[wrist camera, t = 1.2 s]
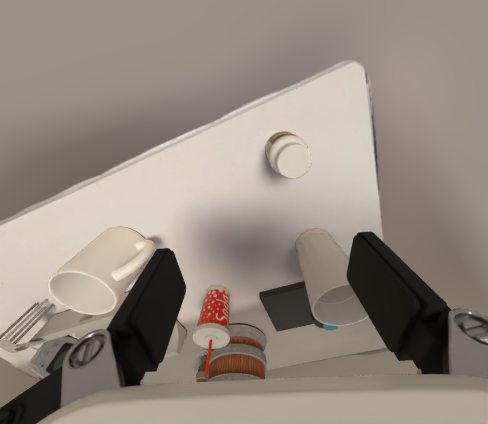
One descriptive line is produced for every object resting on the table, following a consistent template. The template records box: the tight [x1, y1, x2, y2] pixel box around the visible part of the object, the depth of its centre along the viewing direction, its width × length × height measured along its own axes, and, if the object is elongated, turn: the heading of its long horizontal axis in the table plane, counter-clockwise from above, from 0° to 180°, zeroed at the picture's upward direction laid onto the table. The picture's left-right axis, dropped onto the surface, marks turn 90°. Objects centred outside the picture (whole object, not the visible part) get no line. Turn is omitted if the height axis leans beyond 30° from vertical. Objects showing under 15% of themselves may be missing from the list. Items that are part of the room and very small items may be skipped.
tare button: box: [322, 323, 338, 330], centre depth 38 cm, size 3×3×2 cm
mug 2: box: [196, 324, 267, 382], centre depth 41 cm, size 14×19×15 cm
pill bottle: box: [266, 131, 312, 179], centre depth 22 cm, size 4×4×8 cm
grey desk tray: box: [0, 291, 187, 359], centre depth 40 cm, size 25×21×8 cm
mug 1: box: [48, 227, 154, 315], centre depth 29 cm, size 12×8×10 cm
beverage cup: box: [193, 285, 230, 377], centre depth 33 cm, size 6×6×14 cm
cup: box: [295, 229, 369, 326], centre depth 28 cm, size 8×8×12 cm
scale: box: [260, 281, 324, 331], centre depth 39 cm, size 14×12×3 cm
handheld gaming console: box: [29, 336, 78, 380], centre depth 45 cm, size 14×3×8 cm, turn 27°
